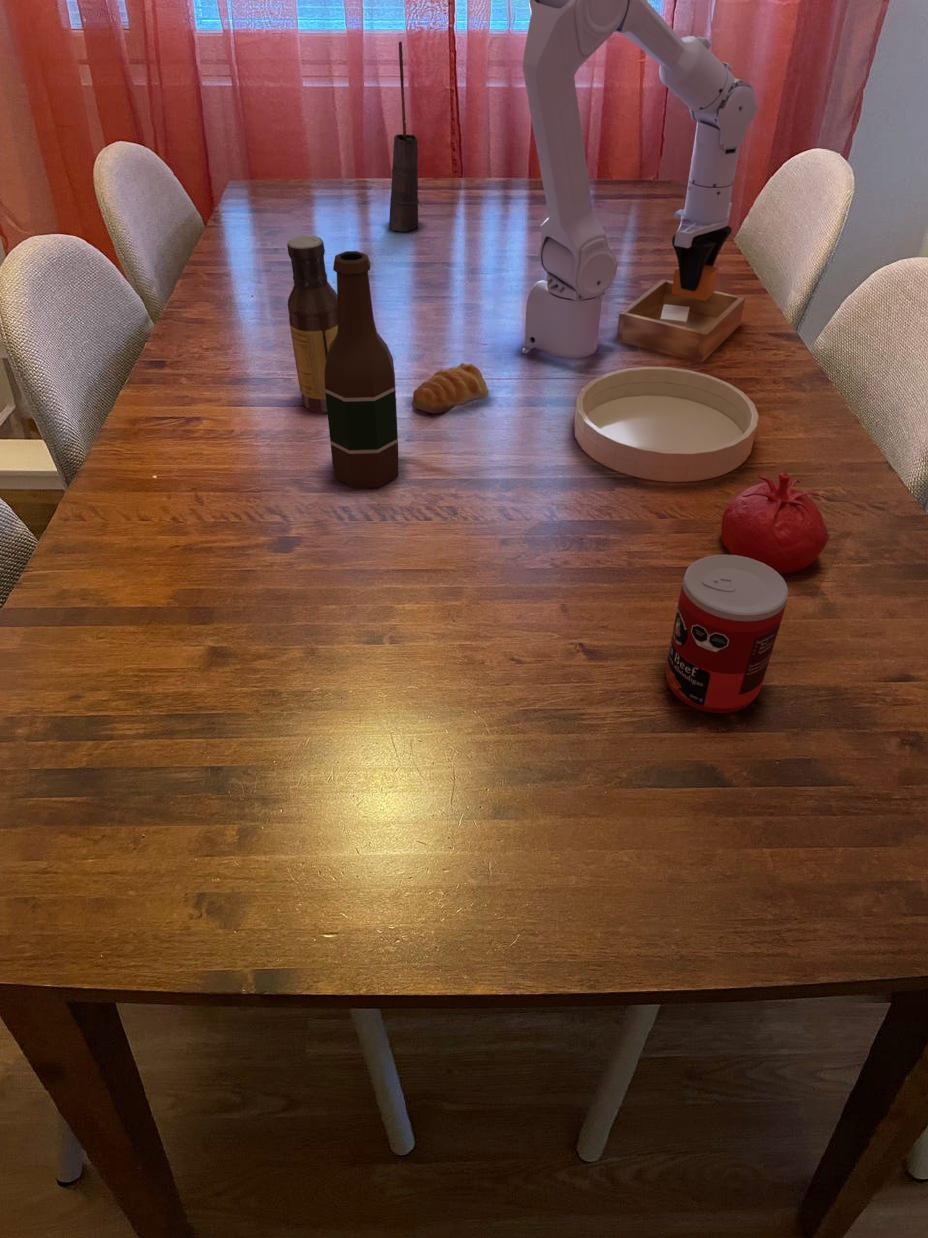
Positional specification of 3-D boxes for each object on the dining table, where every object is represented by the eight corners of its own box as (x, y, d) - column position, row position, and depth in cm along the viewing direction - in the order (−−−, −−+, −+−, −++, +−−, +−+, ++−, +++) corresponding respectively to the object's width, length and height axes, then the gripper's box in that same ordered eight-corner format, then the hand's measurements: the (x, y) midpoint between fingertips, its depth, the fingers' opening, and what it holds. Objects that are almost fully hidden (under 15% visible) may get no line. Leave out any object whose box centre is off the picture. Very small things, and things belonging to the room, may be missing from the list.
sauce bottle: (344, 387, 121) (330, 227, 108) (357, 409, 117) (343, 246, 104) (294, 395, 119) (274, 234, 106) (306, 418, 115) (286, 253, 102)
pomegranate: (762, 599, 89) (784, 518, 83) (695, 543, 96) (712, 464, 90) (841, 570, 93) (867, 489, 86) (771, 517, 99) (792, 439, 93)
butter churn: (432, 238, 162) (429, 50, 144) (377, 238, 162) (366, 50, 144) (434, 220, 169) (431, 39, 151) (381, 220, 169) (372, 38, 151)
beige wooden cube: (656, 342, 130) (660, 318, 128) (660, 328, 133) (664, 303, 131) (682, 345, 129) (686, 321, 127) (685, 330, 133) (689, 306, 130)
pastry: (433, 423, 114) (432, 394, 112) (400, 402, 118) (398, 374, 116) (492, 400, 118) (493, 371, 116) (459, 381, 122) (459, 353, 120)
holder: (615, 341, 131) (619, 312, 129) (658, 305, 141) (662, 278, 138) (701, 363, 126) (706, 334, 124) (740, 325, 136) (745, 297, 133)
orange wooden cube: (705, 300, 130) (709, 275, 128) (671, 293, 132) (675, 268, 130) (714, 292, 132) (718, 267, 130) (680, 285, 134) (684, 260, 132)
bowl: (542, 454, 109) (544, 419, 106) (619, 385, 122) (623, 352, 119) (710, 509, 100) (718, 473, 97) (774, 428, 113) (782, 394, 110)
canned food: (654, 655, 83) (673, 555, 76) (743, 650, 84) (770, 550, 77) (676, 719, 77) (698, 617, 70) (771, 713, 78) (803, 612, 71)
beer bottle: (412, 460, 108) (404, 246, 92) (385, 496, 102) (372, 275, 86) (349, 448, 110) (331, 237, 94) (320, 483, 104) (295, 264, 88)
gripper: (703, 162, 129) (687, 262, 138) (659, 190, 120) (645, 295, 129) (753, 170, 126) (734, 272, 135) (711, 199, 117) (694, 306, 126)
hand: (694, 284), depth 132 cm, fingers closed on orange wooden cube, 3 cm apart
